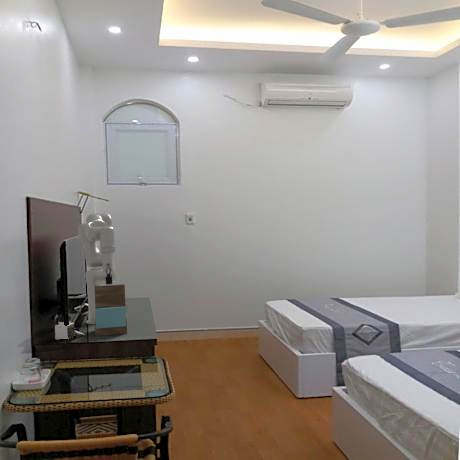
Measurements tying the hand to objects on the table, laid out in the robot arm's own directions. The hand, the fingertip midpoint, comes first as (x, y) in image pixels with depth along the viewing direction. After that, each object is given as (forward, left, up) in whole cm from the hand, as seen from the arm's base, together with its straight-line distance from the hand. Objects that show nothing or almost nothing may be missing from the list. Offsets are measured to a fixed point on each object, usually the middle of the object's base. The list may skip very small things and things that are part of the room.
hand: (109, 283), depth 261 cm
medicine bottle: (+2, -23, -27) cm, 35 cm away
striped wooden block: (-4, 0, -26) cm, 27 cm away
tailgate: (+5, 0, -22) cm, 23 cm away
